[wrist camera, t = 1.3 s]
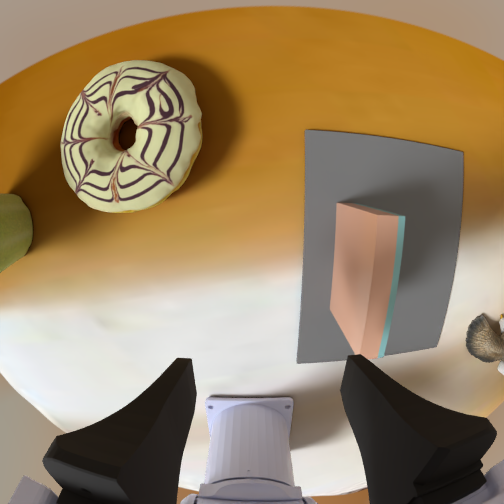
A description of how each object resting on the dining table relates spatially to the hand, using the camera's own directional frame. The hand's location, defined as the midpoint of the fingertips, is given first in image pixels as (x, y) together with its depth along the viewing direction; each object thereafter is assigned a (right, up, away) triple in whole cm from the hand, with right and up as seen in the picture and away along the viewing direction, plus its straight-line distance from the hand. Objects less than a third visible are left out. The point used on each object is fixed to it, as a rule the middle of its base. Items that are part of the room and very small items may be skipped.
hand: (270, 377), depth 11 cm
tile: (+6, +5, +9) cm, 12 cm away
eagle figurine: (+26, -4, +12) cm, 29 cm away
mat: (+10, +5, +10) cm, 15 cm away
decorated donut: (-9, +14, +8) cm, 18 cm away
